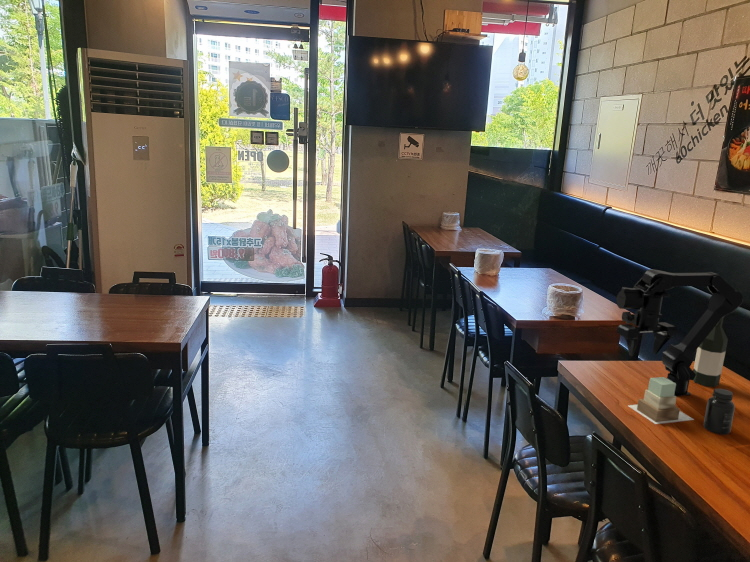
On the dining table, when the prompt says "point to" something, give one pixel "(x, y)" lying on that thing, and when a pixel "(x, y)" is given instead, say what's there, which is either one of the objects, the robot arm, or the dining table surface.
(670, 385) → the sage block
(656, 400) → the birch block
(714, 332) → the wine bottle
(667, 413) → the walnut slab
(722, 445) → the dining table surface
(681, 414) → the grey mat
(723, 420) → the supplement bottle
